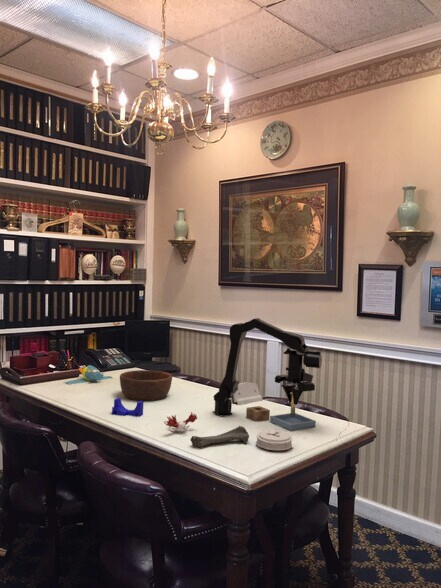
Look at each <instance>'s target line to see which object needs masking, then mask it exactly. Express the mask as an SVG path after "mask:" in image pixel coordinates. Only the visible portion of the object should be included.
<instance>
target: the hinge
mask: <svg viewBox="0 0 441 588" xmlns="http://www.w3.org/2000/svg"><path fill="white" fill-rule="evenodd" d="M230 399H231V403H232V404H233V403H236V404H237V406H241V405H246V404H252V403H258V402H262V401H263V400H264V399H263V395H261V393H260V390H259V387H258V384H257V383H255V382H250V381H249V382H248V381H244V382H239V384H238V390H237V391H236V393H235V394H233V395H232V398H230Z"/></svg>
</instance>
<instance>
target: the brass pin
mask: <svg viewBox="0 0 441 588" xmlns="http://www.w3.org/2000/svg"><path fill="white" fill-rule="evenodd" d="M290 394H291V403H290V413H291V416H295V413H296V405H295V404H294V400H293V393H292V391H290Z"/></svg>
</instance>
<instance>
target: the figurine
mask: <svg viewBox="0 0 441 588" xmlns="http://www.w3.org/2000/svg"><path fill="white" fill-rule="evenodd" d="M166 418H167V420H168V421H167V420H164V421H163V424H165V425H166V426H168V430H169V432H173V433H174V432H176V431H178V432H179V433H181V432H182V433H184V431H185V432H188V429H189V427H190V424H189V423H194V422H195V421H196V420H197V419H198V416H197V414H195V413H193V412H192V411H190V415H189V416H188V418H187V419H185V420H182V421H178V420H177V415H176V414H174V415H171V416H166ZM177 421H178V422H177Z"/></svg>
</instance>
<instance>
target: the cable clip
mask: <svg viewBox="0 0 441 588" xmlns="http://www.w3.org/2000/svg"><path fill="white" fill-rule="evenodd" d="M144 402H145V401H139V400H138V401H137V402H136V405H135V408H134V409H128V408H126V407H125V406H124V405H123V403H122V399H121V397H117V398H114V400H113V407H112V408H111V415H113V416H114V415H115V416H123V417H125V416H131V417H140V418H141V417H142V416H143V415H144Z"/></svg>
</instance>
